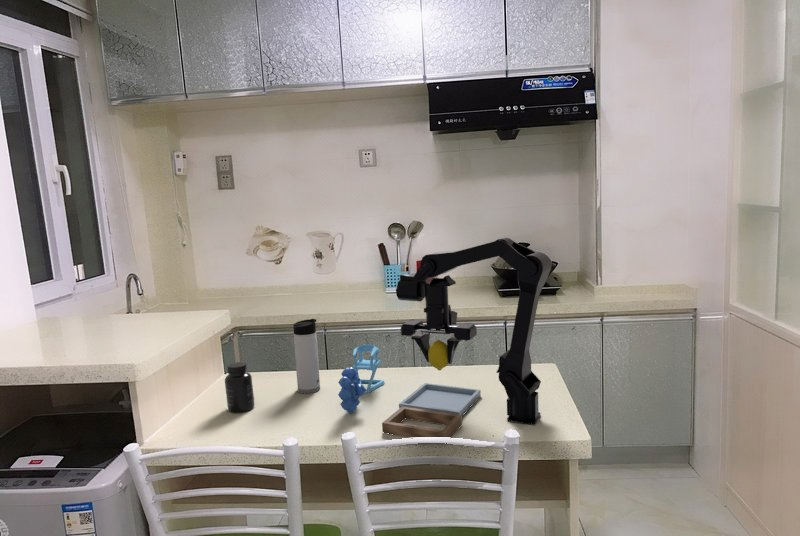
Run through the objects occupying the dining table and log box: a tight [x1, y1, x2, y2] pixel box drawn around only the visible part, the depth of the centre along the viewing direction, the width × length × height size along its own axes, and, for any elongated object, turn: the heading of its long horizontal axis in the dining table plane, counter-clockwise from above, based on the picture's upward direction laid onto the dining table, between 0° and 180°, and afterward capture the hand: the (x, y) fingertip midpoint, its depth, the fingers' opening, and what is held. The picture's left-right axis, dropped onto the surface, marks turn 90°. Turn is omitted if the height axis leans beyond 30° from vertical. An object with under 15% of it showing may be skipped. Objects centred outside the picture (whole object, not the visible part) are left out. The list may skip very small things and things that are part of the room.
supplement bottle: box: [224, 361, 255, 414], centre depth 146 cm, size 7×7×12 cm
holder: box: [381, 406, 463, 438], centre depth 129 cm, size 15×10×2 cm
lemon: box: [428, 339, 449, 371], centre depth 142 cm, size 6×6×8 cm
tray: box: [398, 382, 482, 416], centre depth 144 cm, size 16×16×2 cm
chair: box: [351, 343, 385, 394], centre depth 158 cm, size 8×8×12 cm
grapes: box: [337, 366, 367, 414], centre depth 140 cm, size 12×7×12 cm, turn 168°
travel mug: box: [292, 318, 321, 394], centre depth 158 cm, size 6×7×20 cm
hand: (439, 362), depth 142 cm, fingers closed on lemon, 5 cm apart
